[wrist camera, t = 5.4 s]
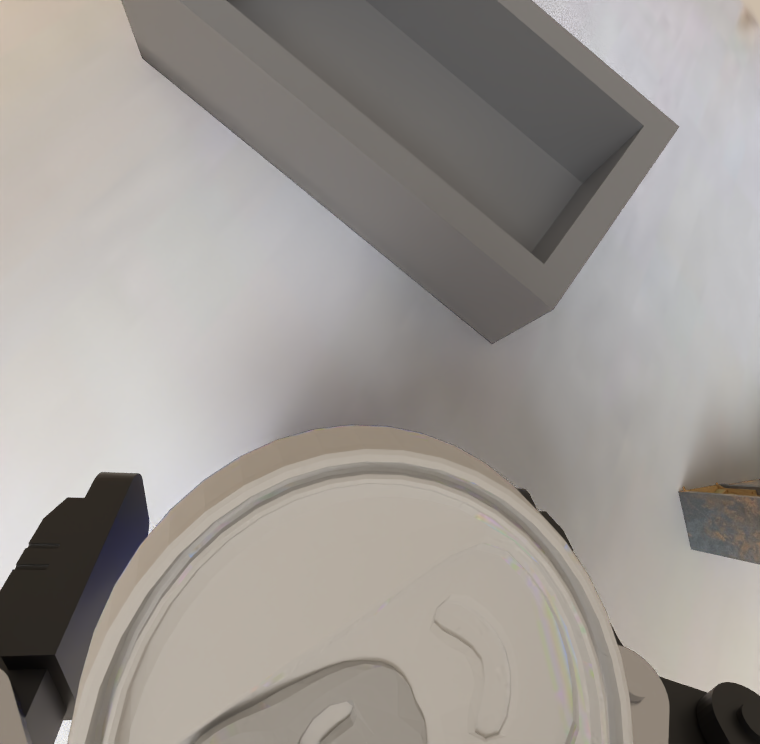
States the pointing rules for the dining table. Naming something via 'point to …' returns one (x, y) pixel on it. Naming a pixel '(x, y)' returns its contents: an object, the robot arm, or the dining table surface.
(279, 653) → the beverage can
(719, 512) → the weathered brown open box
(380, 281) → the dining table surface
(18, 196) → the dining table surface
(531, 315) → the gray rectangular open tray
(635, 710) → the robot arm
